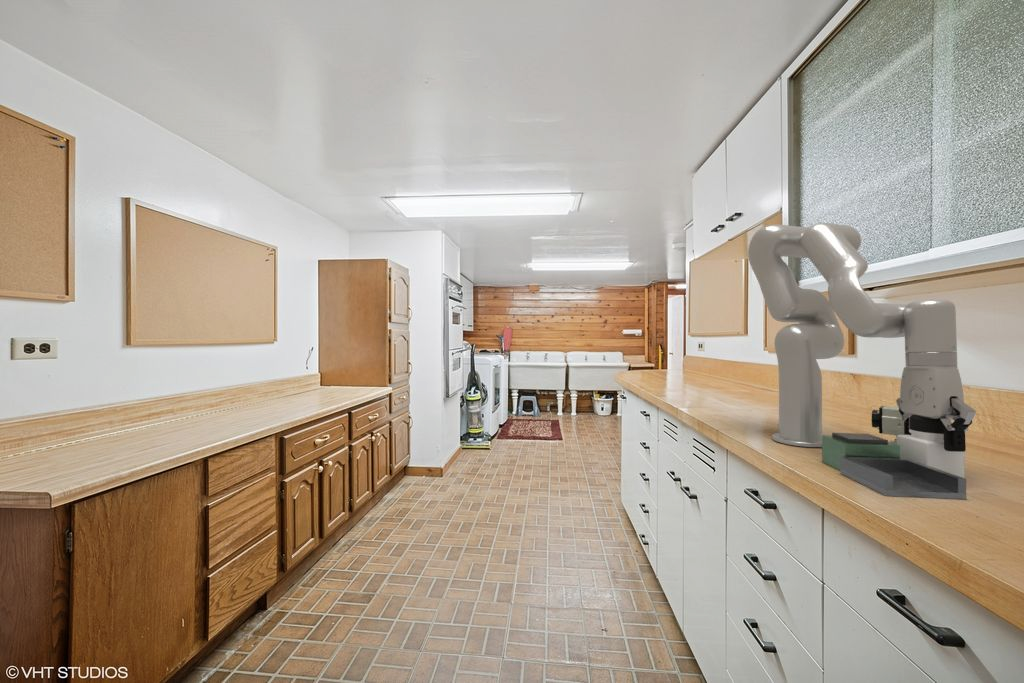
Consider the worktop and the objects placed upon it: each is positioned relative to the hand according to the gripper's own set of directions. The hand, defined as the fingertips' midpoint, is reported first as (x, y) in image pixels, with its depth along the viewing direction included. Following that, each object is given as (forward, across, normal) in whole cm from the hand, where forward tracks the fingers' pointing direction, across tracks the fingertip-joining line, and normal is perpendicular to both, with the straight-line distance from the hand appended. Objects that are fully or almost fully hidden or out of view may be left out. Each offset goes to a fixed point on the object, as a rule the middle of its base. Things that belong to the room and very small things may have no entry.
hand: (933, 445), depth 85 cm
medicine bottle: (+6, -1, 0) cm, 6 cm away
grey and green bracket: (+6, +4, -12) cm, 14 cm away
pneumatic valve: (+6, -16, +6) cm, 18 cm away
